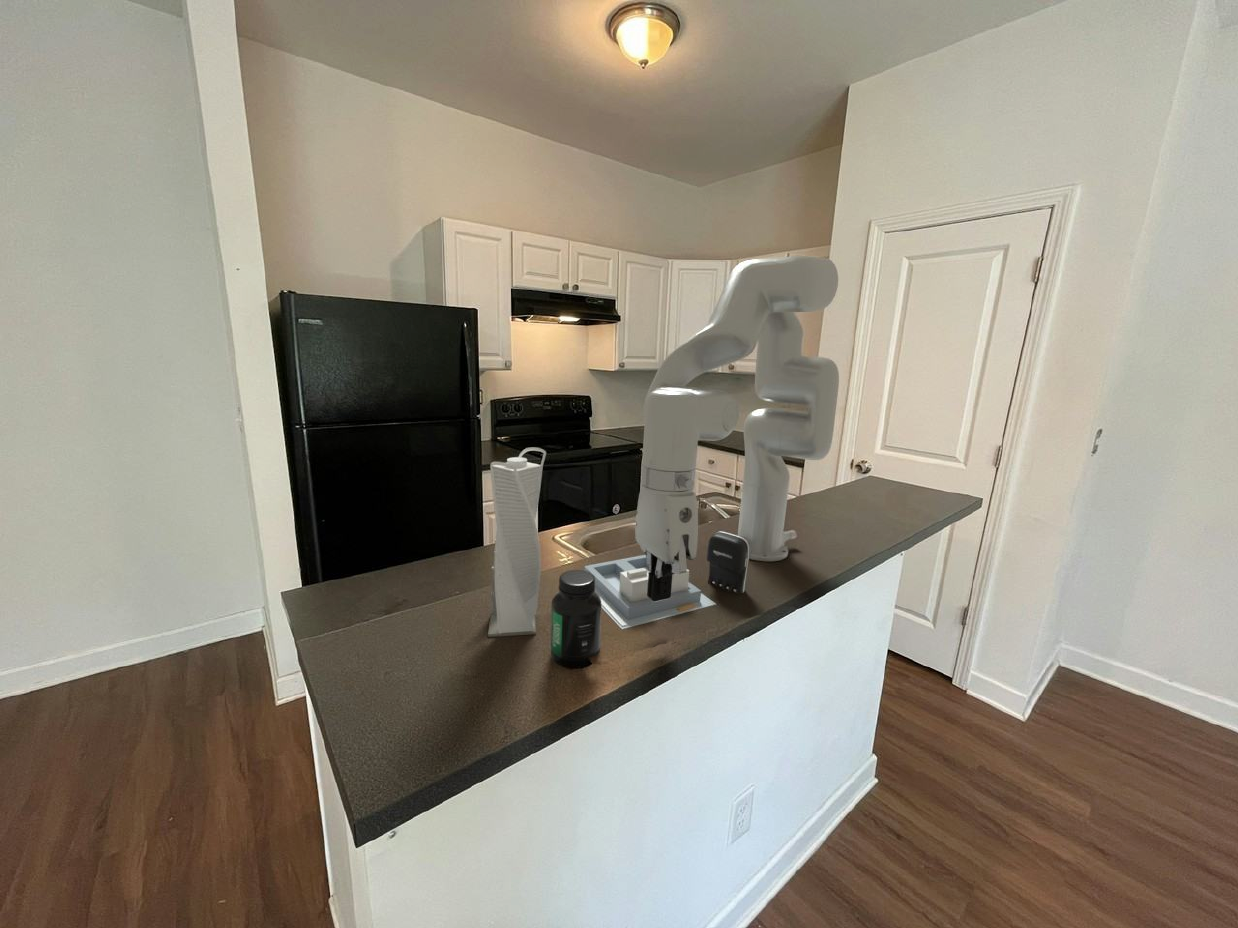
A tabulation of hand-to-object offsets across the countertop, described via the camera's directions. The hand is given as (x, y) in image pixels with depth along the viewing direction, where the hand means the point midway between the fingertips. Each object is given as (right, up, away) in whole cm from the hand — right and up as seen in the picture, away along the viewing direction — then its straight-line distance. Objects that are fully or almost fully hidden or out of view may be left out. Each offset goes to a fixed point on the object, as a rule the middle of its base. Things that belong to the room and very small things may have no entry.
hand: (658, 597), depth 72 cm
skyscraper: (-22, -5, +3) cm, 23 cm away
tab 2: (+3, -3, +11) cm, 11 cm away
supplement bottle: (-12, -7, -4) cm, 15 cm away
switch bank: (-2, -3, +13) cm, 14 cm away
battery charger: (+13, -4, +15) cm, 20 cm away
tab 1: (-3, -3, +7) cm, 9 cm away
